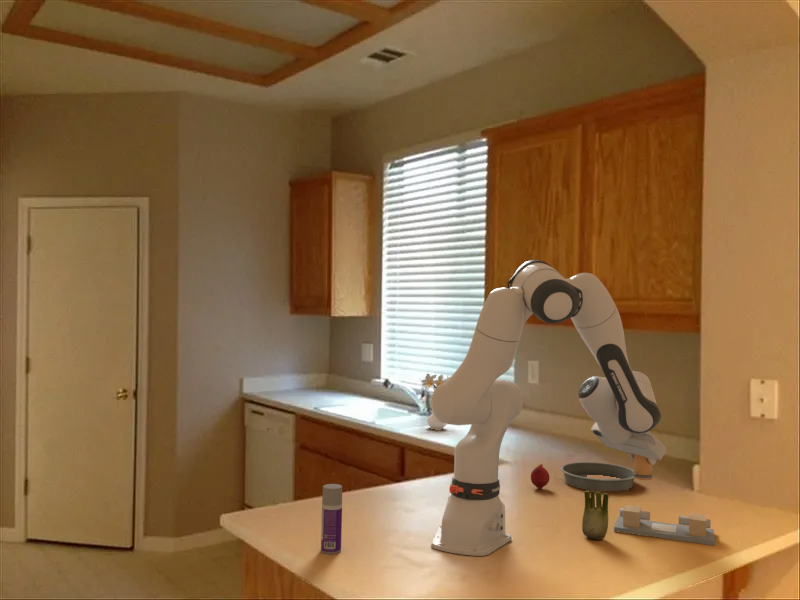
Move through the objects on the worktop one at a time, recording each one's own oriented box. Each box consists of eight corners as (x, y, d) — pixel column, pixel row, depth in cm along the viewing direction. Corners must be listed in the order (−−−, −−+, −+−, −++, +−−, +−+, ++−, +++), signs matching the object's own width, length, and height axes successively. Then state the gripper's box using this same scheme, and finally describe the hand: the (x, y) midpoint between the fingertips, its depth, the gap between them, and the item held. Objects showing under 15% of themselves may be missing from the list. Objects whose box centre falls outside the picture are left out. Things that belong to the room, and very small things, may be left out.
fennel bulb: (609, 540, 182) (611, 492, 182) (598, 543, 178) (599, 495, 178) (590, 533, 186) (591, 487, 186) (578, 537, 183) (579, 489, 183)
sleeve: (651, 480, 195) (652, 447, 195) (633, 478, 197) (633, 445, 197) (652, 477, 200) (653, 444, 200) (634, 475, 201) (634, 442, 202)
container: (345, 550, 169) (346, 486, 169) (330, 555, 165) (332, 489, 165) (331, 545, 172) (333, 482, 172) (316, 550, 168) (318, 486, 168)
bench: (714, 545, 179) (715, 524, 179) (614, 531, 188) (614, 511, 188) (713, 533, 188) (714, 513, 188) (617, 521, 197) (618, 501, 197)
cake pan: (546, 476, 248) (547, 463, 248) (610, 473, 254) (610, 460, 254) (584, 495, 224) (584, 481, 224) (653, 491, 231) (653, 477, 231)
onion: (540, 492, 225) (541, 466, 225) (526, 488, 230) (527, 463, 230) (552, 489, 229) (553, 464, 229) (538, 485, 233) (539, 460, 233)
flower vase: (452, 433, 322) (453, 377, 322) (414, 429, 330) (415, 374, 330) (462, 428, 334) (463, 374, 334) (425, 425, 342) (426, 372, 342)
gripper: (655, 423, 186) (681, 459, 190) (598, 412, 204) (624, 445, 209) (641, 442, 184) (668, 477, 188) (586, 429, 202) (612, 461, 206)
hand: (644, 460), depth 199 cm, fingers closed on sleeve, 5 cm apart
